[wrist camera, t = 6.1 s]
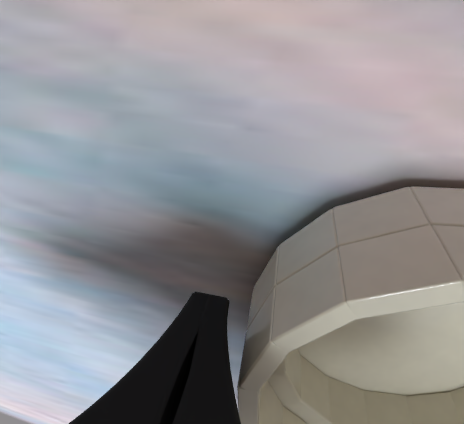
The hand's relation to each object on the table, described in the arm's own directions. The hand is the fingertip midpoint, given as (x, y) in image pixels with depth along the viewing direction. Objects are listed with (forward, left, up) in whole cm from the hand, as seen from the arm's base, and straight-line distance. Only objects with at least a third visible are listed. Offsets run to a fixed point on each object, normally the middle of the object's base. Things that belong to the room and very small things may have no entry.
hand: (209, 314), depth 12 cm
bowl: (-1, -7, -2) cm, 7 cm away
